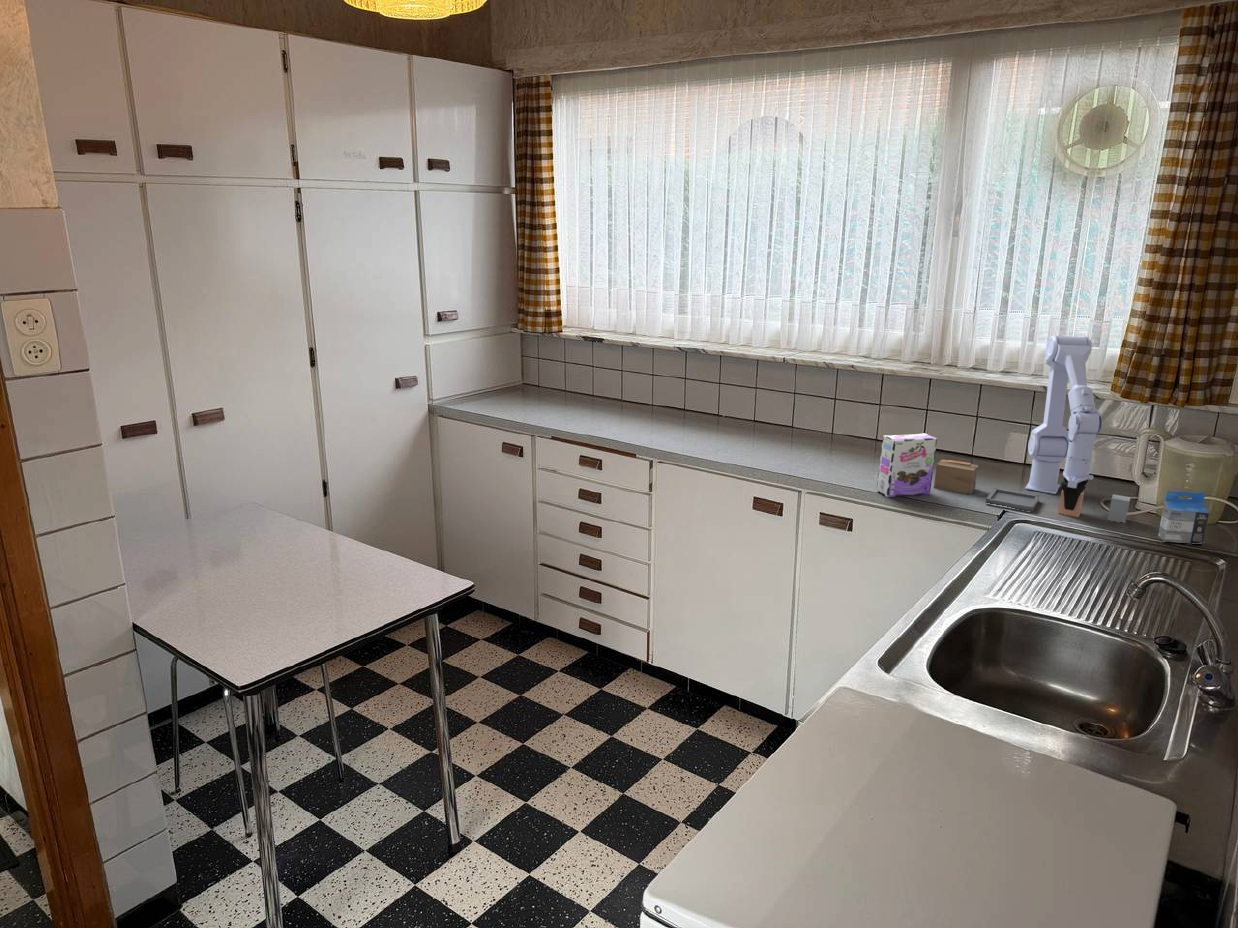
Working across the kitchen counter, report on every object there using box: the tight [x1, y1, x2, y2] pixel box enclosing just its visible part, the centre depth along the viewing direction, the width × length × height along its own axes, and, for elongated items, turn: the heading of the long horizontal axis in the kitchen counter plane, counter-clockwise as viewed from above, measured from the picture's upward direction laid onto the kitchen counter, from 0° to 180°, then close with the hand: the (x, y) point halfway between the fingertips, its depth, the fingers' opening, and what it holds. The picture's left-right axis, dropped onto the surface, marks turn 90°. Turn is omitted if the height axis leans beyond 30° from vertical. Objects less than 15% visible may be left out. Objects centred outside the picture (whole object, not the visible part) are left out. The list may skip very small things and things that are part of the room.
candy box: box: [875, 432, 938, 498], centre depth 241 cm, size 14×6×16 cm, turn 105°
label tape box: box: [1157, 490, 1210, 543], centre depth 210 cm, size 9×4×12 cm, turn 82°
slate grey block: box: [1107, 494, 1131, 524], centre depth 225 cm, size 4×4×6 cm
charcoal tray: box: [985, 487, 1040, 513], centre depth 237 cm, size 12×12×2 cm
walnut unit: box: [933, 459, 979, 495], centre depth 248 cm, size 7×10×7 cm, turn 58°
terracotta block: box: [1057, 489, 1085, 518], centre depth 229 cm, size 4×5×6 cm
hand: (1070, 507), depth 230 cm, fingers closed on terracotta block, 4 cm apart
